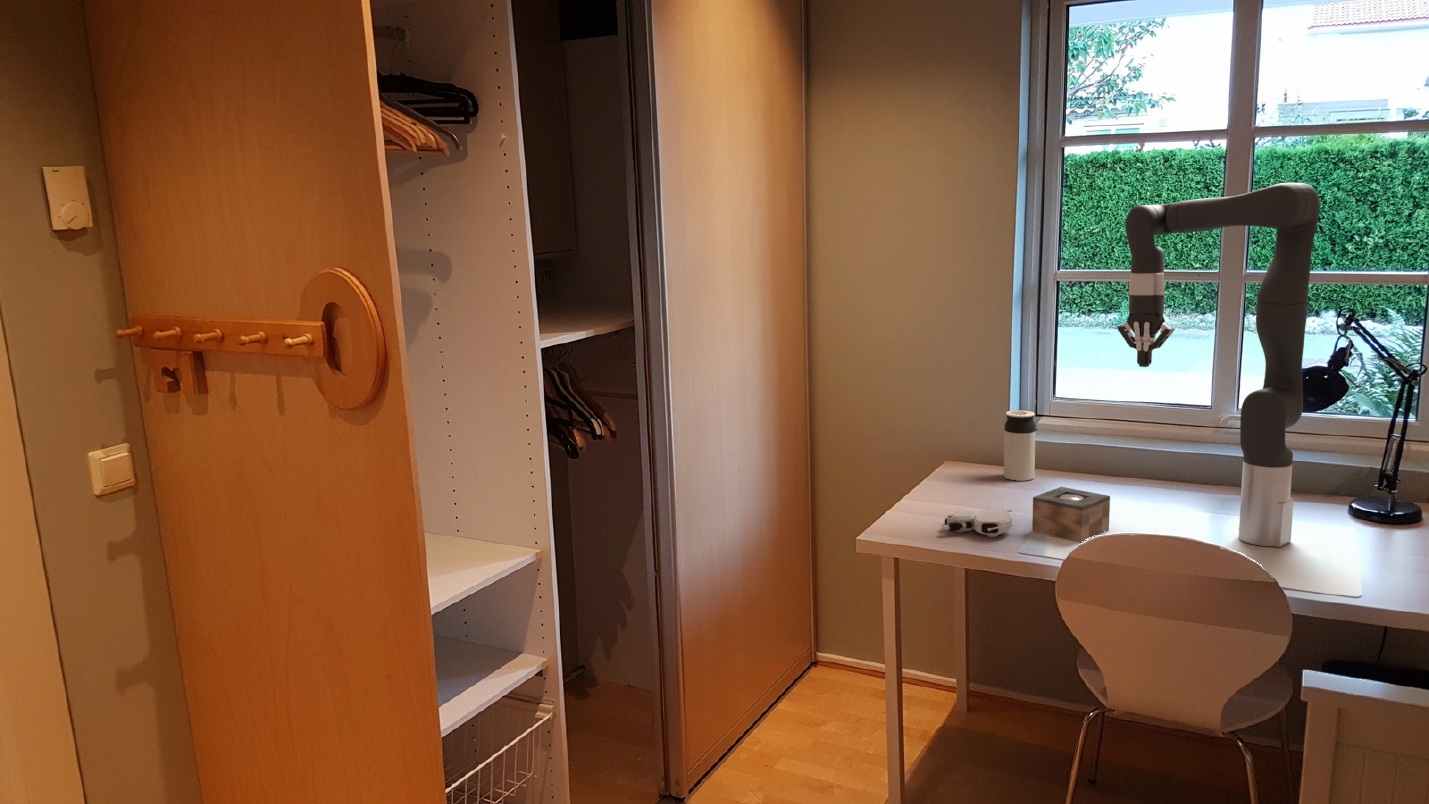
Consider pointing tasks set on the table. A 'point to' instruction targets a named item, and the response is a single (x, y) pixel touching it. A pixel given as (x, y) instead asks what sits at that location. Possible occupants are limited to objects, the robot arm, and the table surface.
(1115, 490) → the table surface
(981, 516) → the robot toy
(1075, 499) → the peg
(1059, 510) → the band block
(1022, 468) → the travel mug
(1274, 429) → the robot arm
